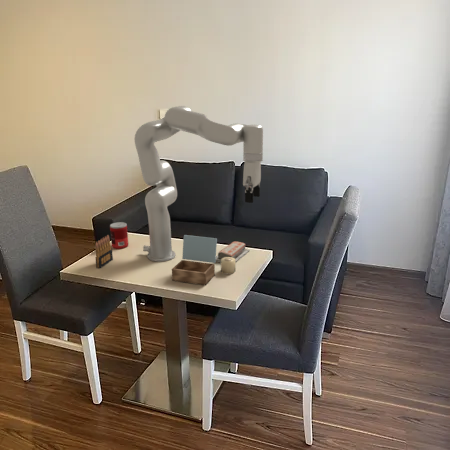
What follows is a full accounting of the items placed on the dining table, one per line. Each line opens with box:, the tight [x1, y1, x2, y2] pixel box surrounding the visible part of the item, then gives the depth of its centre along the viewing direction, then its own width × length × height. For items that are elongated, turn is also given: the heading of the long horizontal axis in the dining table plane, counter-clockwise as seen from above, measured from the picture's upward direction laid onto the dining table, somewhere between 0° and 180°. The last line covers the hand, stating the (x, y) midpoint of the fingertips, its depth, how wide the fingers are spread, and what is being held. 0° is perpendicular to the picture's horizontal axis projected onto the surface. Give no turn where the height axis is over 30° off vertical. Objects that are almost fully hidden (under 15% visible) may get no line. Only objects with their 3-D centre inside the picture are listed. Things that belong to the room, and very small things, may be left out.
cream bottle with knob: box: [220, 257, 236, 275], centre depth 198 cm, size 6×6×5 cm
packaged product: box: [215, 240, 250, 264], centre depth 214 cm, size 18×5×10 cm
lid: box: [181, 234, 218, 264], centre depth 196 cm, size 14×10×1 cm
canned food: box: [109, 221, 129, 250], centre depth 227 cm, size 8×8×11 cm
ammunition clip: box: [95, 234, 114, 269], centre depth 206 cm, size 11×2×12 cm, turn 162°
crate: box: [171, 259, 216, 286], centre depth 192 cm, size 14×10×5 cm
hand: (252, 199), depth 192 cm, fingers open, 9 cm apart
